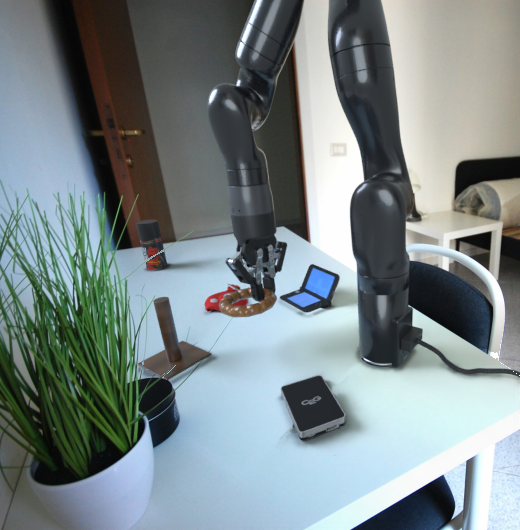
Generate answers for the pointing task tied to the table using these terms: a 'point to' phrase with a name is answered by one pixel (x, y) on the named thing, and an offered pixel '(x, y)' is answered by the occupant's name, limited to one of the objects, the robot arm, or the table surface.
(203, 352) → the peg
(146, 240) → the deodorant
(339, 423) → the external hard drive
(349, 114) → the robot arm
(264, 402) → the table surface
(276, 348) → the table surface
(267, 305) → the brown lumpy ring
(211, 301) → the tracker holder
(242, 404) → the table surface
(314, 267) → the handheld console
